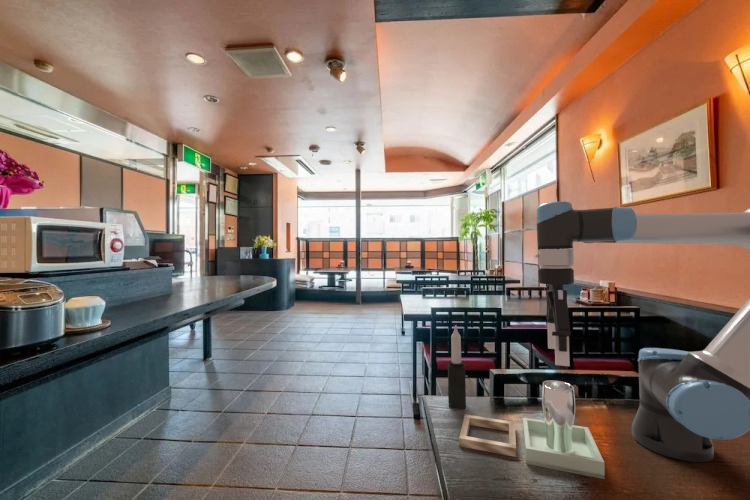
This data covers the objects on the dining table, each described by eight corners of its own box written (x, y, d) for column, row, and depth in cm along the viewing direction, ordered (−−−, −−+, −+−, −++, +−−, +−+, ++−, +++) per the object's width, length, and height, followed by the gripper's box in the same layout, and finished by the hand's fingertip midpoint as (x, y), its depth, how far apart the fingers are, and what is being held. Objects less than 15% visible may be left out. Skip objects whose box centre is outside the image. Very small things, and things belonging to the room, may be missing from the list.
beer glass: (581, 458, 76) (579, 392, 76) (547, 455, 77) (546, 390, 77) (569, 441, 83) (568, 380, 83) (539, 439, 84) (538, 379, 84)
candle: (466, 409, 102) (464, 327, 103) (449, 408, 103) (447, 326, 103) (464, 402, 107) (463, 323, 108) (448, 401, 108) (447, 323, 108)
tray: (588, 441, 84) (587, 427, 84) (604, 479, 70) (604, 462, 70) (523, 430, 90) (522, 417, 90) (526, 463, 76) (525, 448, 76)
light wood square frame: (514, 429, 90) (514, 422, 90) (516, 456, 78) (516, 448, 78) (465, 421, 95) (465, 414, 95) (459, 446, 83) (459, 438, 83)
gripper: (534, 265, 93) (536, 342, 93) (543, 269, 70) (546, 371, 70) (564, 265, 91) (566, 344, 90) (585, 269, 67) (588, 375, 67)
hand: (557, 356), depth 80 cm, fingers open, 13 cm apart
